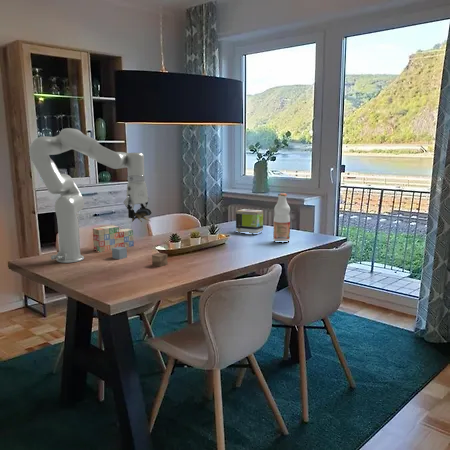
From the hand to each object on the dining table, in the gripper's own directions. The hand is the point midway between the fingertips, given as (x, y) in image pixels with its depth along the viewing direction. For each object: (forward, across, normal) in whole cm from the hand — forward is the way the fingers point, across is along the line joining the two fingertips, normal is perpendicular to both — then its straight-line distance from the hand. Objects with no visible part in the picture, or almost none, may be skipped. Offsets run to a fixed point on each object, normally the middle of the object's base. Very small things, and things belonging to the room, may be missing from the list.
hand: (137, 216), depth 209 cm
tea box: (+22, +91, -10) cm, 94 cm away
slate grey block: (+22, 0, +13) cm, 25 cm away
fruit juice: (+21, +77, -39) cm, 89 cm away
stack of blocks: (+22, +14, +31) cm, 40 cm away
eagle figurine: (+3, +2, 0) cm, 3 cm away
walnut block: (+22, 0, -13) cm, 25 cm away
